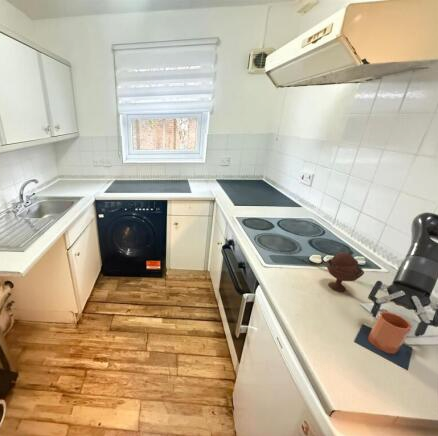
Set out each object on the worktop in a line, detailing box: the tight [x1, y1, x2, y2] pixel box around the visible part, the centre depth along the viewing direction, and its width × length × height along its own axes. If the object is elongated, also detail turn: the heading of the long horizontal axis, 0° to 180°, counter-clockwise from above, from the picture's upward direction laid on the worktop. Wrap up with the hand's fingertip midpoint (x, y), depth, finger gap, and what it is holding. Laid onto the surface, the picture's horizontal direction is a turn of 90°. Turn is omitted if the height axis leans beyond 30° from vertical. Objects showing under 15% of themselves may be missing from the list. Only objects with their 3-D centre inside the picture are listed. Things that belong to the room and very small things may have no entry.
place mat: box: [353, 323, 413, 371], centre depth 68 cm, size 11×10×1 cm
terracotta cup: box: [368, 311, 412, 354], centre depth 66 cm, size 6×6×9 cm
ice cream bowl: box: [325, 252, 365, 293], centre depth 88 cm, size 11×11×15 cm
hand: (394, 325), depth 66 cm, fingers open, 8 cm apart
